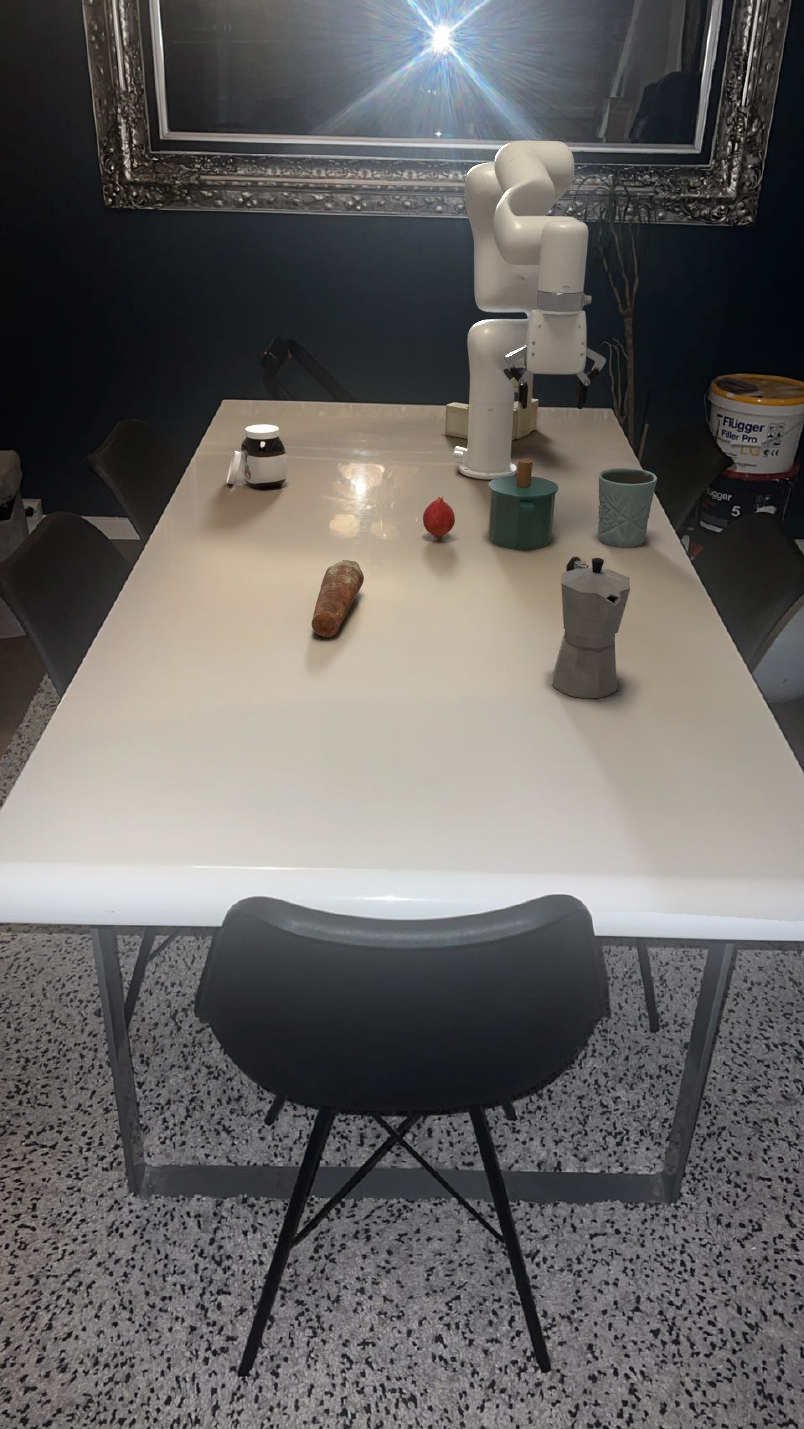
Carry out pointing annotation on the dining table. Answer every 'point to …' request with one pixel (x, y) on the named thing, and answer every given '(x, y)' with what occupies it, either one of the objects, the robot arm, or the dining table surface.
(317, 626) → the brown root vegetable
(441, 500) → the onion
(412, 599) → the dining table surface
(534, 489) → the pot lid
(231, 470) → the spread jar
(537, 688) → the dining table surface
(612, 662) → the coffeepot
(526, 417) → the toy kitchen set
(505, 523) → the pot
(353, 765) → the dining table surface
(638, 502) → the light blue cup
